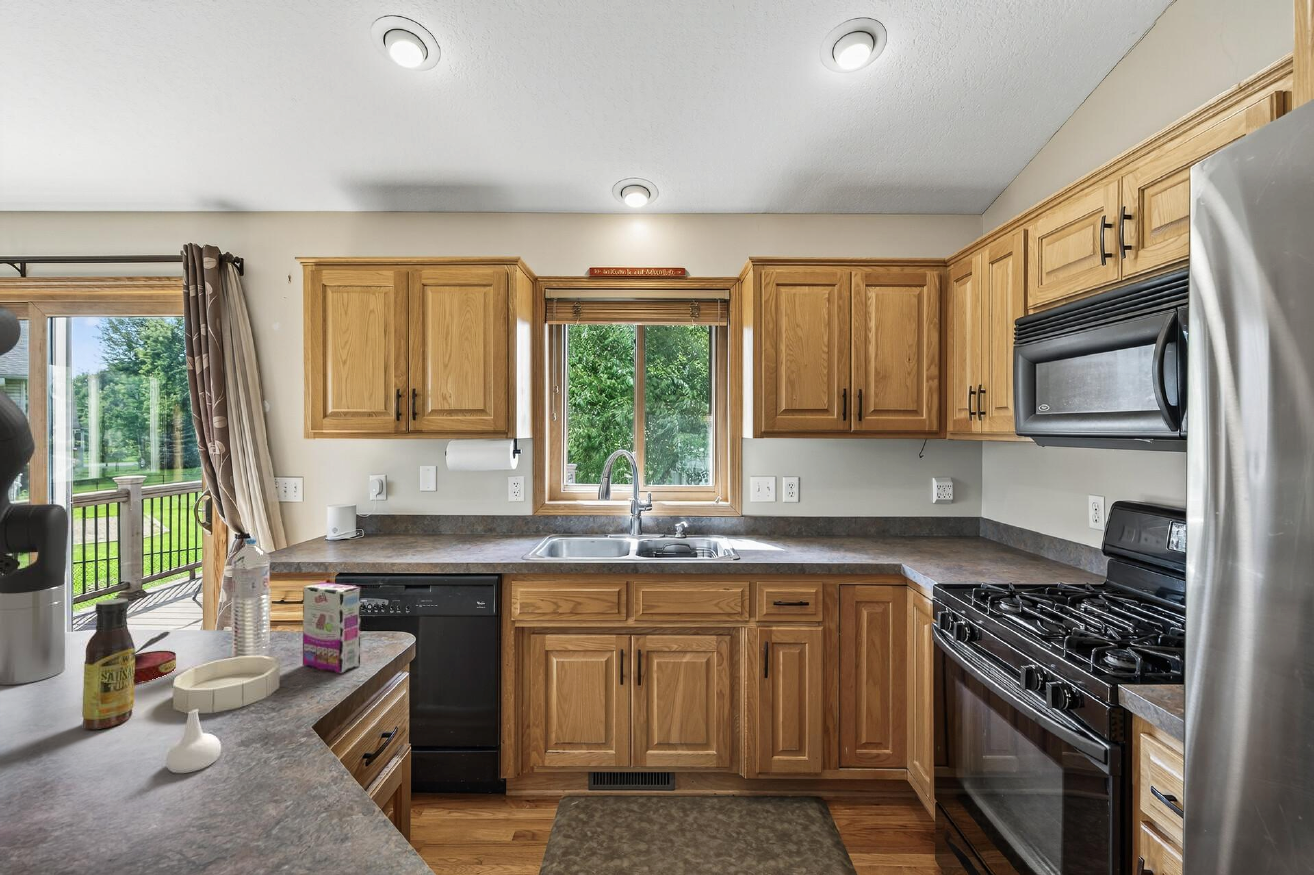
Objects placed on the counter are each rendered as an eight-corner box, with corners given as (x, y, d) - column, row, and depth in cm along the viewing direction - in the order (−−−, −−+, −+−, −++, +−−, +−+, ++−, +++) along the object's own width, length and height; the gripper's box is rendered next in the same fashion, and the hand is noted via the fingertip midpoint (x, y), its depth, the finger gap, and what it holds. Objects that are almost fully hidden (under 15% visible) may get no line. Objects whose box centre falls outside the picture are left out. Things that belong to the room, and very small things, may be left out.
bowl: (154, 702, 107) (154, 679, 107) (246, 670, 121) (246, 650, 121) (206, 720, 100) (206, 696, 100) (297, 685, 114) (297, 664, 114)
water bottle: (255, 662, 125) (256, 542, 125) (223, 662, 125) (223, 541, 125) (277, 650, 132) (277, 536, 132) (246, 650, 132) (246, 536, 132)
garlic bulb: (206, 751, 92) (203, 698, 92) (230, 758, 89) (228, 703, 89) (157, 773, 86) (154, 716, 86) (181, 780, 83) (178, 721, 83)
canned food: (135, 709, 114) (105, 672, 110) (115, 690, 119) (85, 654, 115) (198, 664, 122) (173, 628, 118) (177, 649, 128) (152, 614, 123)
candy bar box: (362, 666, 124) (362, 586, 124) (341, 675, 119) (341, 592, 119) (322, 657, 128) (323, 580, 128) (301, 666, 124) (301, 586, 123)
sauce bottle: (102, 733, 96) (102, 608, 95) (71, 729, 97) (71, 606, 97) (145, 714, 102) (145, 597, 102) (115, 711, 103) (115, 595, 103)
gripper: (-70, 477, 79) (47, 550, 89) (-110, 473, 85) (4, 542, 95) (-135, 523, 74) (-3, 594, 85) (-173, 515, 80) (-46, 583, 91)
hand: (0, 566), depth 90 cm, fingers open, 8 cm apart
